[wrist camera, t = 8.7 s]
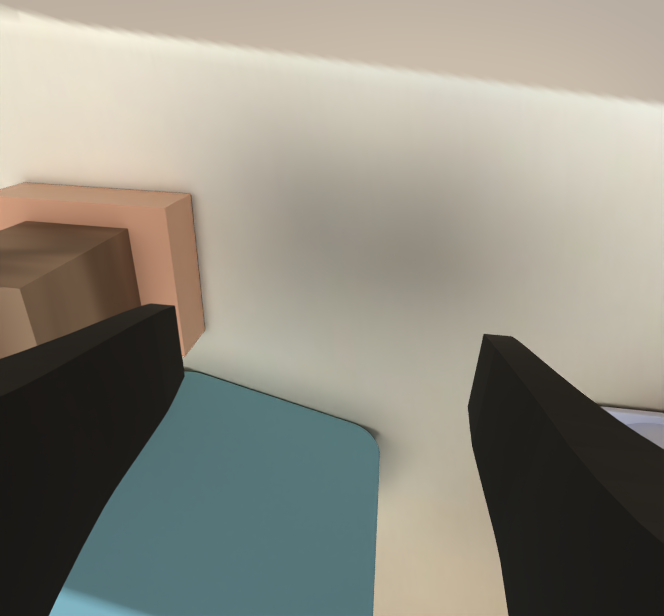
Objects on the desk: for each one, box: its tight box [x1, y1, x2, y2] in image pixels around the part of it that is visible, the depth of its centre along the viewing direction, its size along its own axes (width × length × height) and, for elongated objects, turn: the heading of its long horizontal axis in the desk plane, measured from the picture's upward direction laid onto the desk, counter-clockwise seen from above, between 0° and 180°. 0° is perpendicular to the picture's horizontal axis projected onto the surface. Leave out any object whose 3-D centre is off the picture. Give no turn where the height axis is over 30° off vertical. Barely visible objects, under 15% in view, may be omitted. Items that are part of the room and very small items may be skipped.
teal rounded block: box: [49, 372, 380, 616], centre depth 20 cm, size 12×4×12 cm, turn 72°
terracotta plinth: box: [0, 183, 205, 357], centre depth 21 cm, size 8×7×2 cm
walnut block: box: [0, 221, 141, 359], centre depth 17 cm, size 4×4×6 cm
